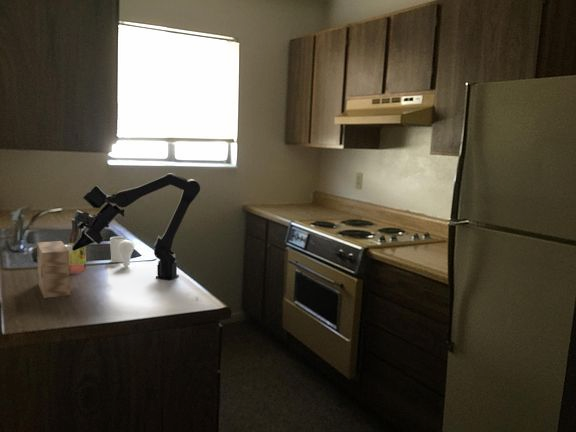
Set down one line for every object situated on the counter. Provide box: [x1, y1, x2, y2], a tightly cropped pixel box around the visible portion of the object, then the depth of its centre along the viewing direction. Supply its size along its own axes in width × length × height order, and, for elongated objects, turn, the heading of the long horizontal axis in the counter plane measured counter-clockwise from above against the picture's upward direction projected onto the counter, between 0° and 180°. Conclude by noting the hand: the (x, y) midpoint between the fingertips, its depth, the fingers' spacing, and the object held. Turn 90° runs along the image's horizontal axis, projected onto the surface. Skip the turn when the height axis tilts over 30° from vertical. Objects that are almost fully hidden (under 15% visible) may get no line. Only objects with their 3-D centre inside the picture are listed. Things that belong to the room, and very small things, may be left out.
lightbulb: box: [118, 239, 135, 267], centre depth 216 cm, size 6×6×11 cm
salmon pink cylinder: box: [69, 264, 86, 275], centre depth 179 cm, size 7×3×3 cm, turn 120°
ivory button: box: [64, 244, 72, 253], centre depth 188 cm, size 7×3×3 cm, turn 120°
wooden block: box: [36, 240, 71, 299], centre depth 182 cm, size 8×18×15 cm, turn 30°
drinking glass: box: [109, 235, 127, 263], centre depth 225 cm, size 7×7×10 cm
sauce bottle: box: [68, 218, 87, 269], centre depth 210 cm, size 6×6×20 cm
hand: (72, 249), depth 190 cm, fingers closed, pressing on ivory button
